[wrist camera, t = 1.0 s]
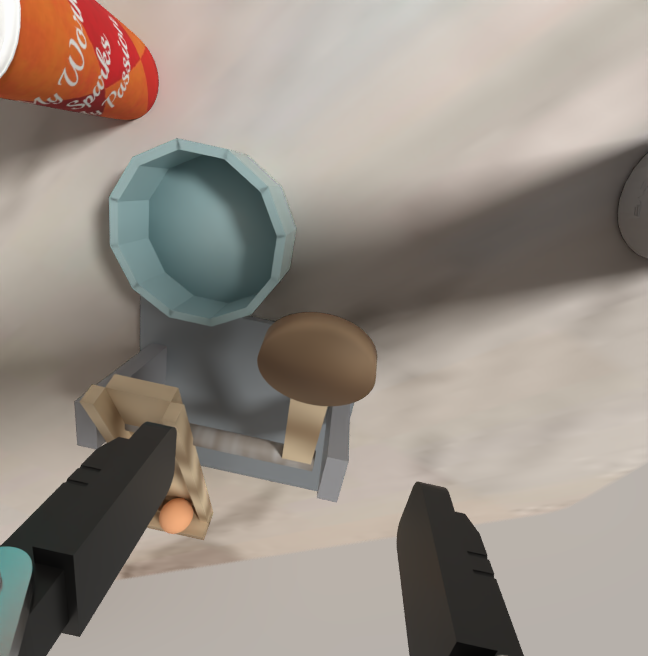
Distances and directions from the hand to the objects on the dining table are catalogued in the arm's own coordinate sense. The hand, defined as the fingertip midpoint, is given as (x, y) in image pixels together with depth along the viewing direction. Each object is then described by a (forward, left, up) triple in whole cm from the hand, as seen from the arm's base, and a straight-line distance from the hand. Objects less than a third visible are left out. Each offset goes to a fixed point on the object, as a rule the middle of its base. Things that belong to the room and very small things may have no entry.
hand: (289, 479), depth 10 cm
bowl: (+10, -2, -22) cm, 24 cm away
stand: (+6, +13, -22) cm, 26 cm away
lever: (+5, +12, -14) cm, 19 cm away
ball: (+10, +24, -17) cm, 31 cm away
